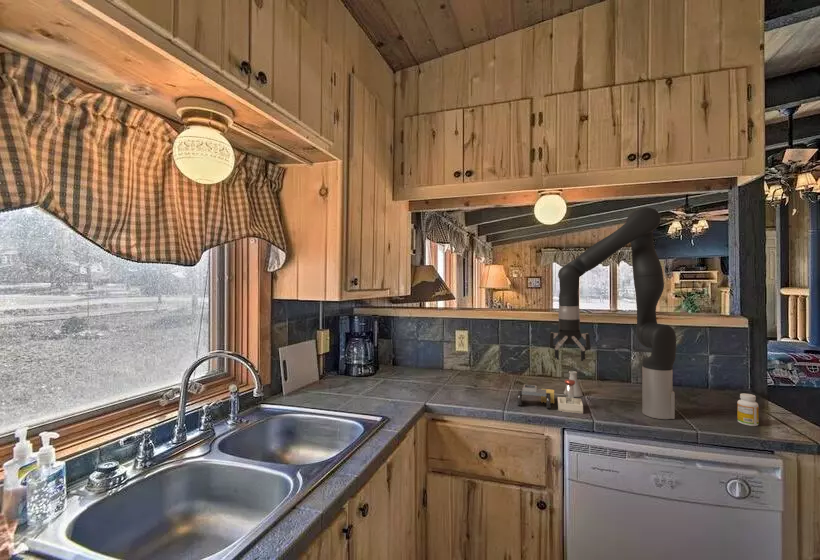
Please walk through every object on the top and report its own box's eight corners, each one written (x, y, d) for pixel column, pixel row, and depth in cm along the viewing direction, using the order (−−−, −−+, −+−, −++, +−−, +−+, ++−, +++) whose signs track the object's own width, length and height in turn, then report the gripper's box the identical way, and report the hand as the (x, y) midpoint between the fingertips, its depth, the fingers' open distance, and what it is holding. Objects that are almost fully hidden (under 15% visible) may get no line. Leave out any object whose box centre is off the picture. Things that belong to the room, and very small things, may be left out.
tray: (580, 406, 147) (580, 398, 147) (583, 413, 139) (583, 405, 139) (557, 404, 150) (557, 396, 150) (558, 411, 142) (558, 403, 142)
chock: (554, 400, 155) (554, 389, 155) (554, 403, 151) (554, 392, 151) (541, 399, 156) (541, 388, 156) (540, 402, 152) (540, 391, 152)
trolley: (550, 403, 150) (550, 385, 150) (550, 410, 143) (550, 391, 143) (518, 400, 154) (518, 382, 154) (517, 407, 147) (517, 388, 147)
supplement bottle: (748, 420, 132) (748, 392, 132) (763, 426, 127) (763, 397, 127) (733, 420, 132) (733, 392, 132) (747, 426, 127) (747, 397, 127)
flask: (571, 398, 157) (571, 374, 157) (560, 393, 164) (560, 370, 164) (586, 397, 159) (586, 373, 159) (574, 392, 166) (574, 369, 166)
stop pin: (574, 405, 146) (574, 379, 145) (575, 408, 142) (575, 382, 142) (564, 404, 147) (564, 379, 147) (565, 407, 143) (565, 381, 143)
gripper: (549, 318, 143) (550, 361, 144) (590, 319, 139) (591, 363, 139) (549, 316, 150) (549, 357, 151) (588, 316, 146) (589, 359, 146)
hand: (569, 360), depth 145 cm, fingers open, 8 cm apart
